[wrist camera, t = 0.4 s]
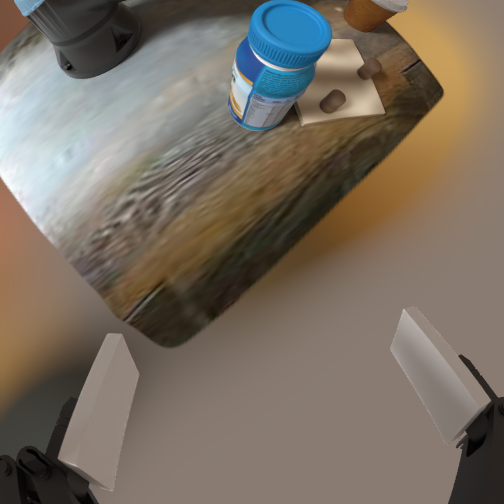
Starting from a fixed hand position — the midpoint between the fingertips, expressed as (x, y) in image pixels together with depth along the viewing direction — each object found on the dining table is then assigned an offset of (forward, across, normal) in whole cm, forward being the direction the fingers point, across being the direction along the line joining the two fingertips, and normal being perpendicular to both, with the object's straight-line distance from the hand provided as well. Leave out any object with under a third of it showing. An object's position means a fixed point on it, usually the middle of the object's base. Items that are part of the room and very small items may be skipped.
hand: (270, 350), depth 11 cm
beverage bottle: (+31, +3, +13) cm, 34 cm away
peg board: (+34, +15, +19) cm, 41 cm away
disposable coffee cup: (+39, +24, +35) cm, 57 cm away
